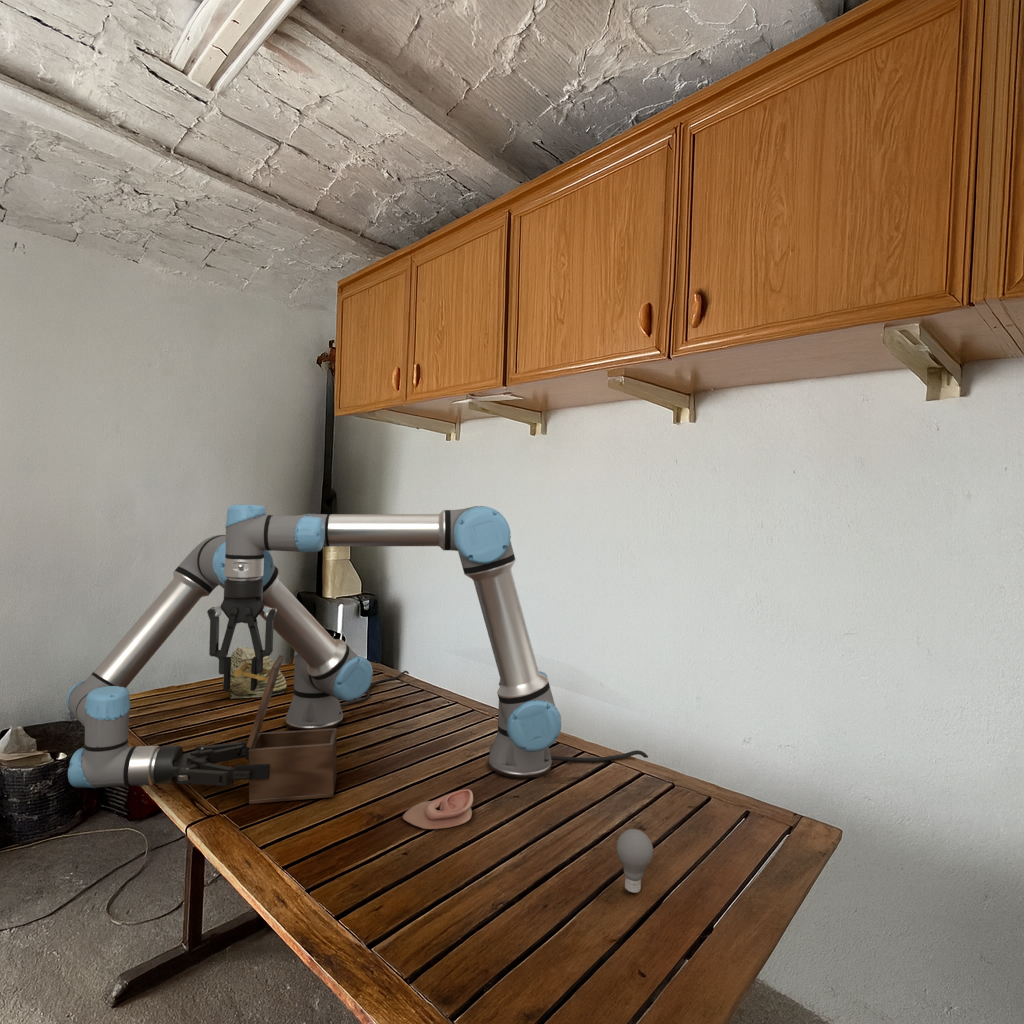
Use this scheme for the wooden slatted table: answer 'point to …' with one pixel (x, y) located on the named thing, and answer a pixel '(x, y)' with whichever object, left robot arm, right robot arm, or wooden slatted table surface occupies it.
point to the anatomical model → (442, 811)
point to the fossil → (242, 684)
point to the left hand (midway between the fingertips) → (273, 761)
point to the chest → (294, 765)
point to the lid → (266, 695)
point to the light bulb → (634, 857)
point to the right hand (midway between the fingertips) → (240, 688)
